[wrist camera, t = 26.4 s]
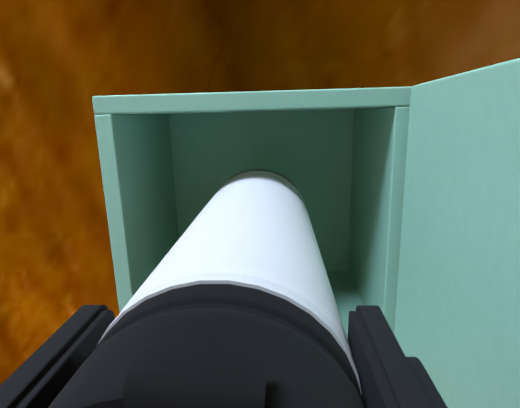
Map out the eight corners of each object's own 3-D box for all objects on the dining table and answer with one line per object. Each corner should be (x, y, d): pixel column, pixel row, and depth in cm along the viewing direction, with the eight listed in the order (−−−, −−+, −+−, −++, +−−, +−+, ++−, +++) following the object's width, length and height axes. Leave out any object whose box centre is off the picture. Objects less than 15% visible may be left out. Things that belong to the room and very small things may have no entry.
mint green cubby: (174, 277, 32) (124, 356, 22) (159, 102, 29) (91, 95, 18) (356, 276, 31) (396, 358, 21) (363, 96, 28) (415, 86, 17)
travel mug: (311, 166, 24) (470, 404, 4) (301, 262, 25) (381, 762, 6) (214, 159, 24) (-71, 352, 4) (210, 254, 25) (-12, 713, 6)
